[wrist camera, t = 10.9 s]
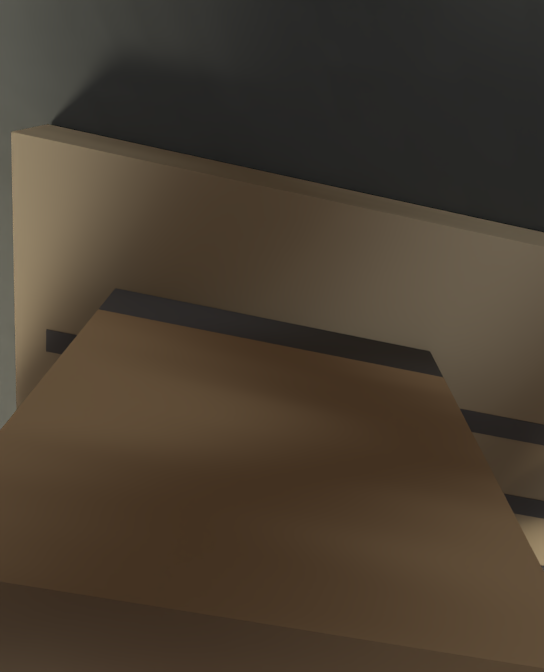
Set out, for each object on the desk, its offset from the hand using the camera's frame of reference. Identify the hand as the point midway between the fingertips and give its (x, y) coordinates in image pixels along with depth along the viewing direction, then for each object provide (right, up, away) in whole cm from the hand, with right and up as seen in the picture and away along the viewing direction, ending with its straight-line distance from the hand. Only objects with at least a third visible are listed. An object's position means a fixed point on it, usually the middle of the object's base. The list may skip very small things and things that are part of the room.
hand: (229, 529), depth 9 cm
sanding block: (0, 0, +1) cm, 1 cm away
